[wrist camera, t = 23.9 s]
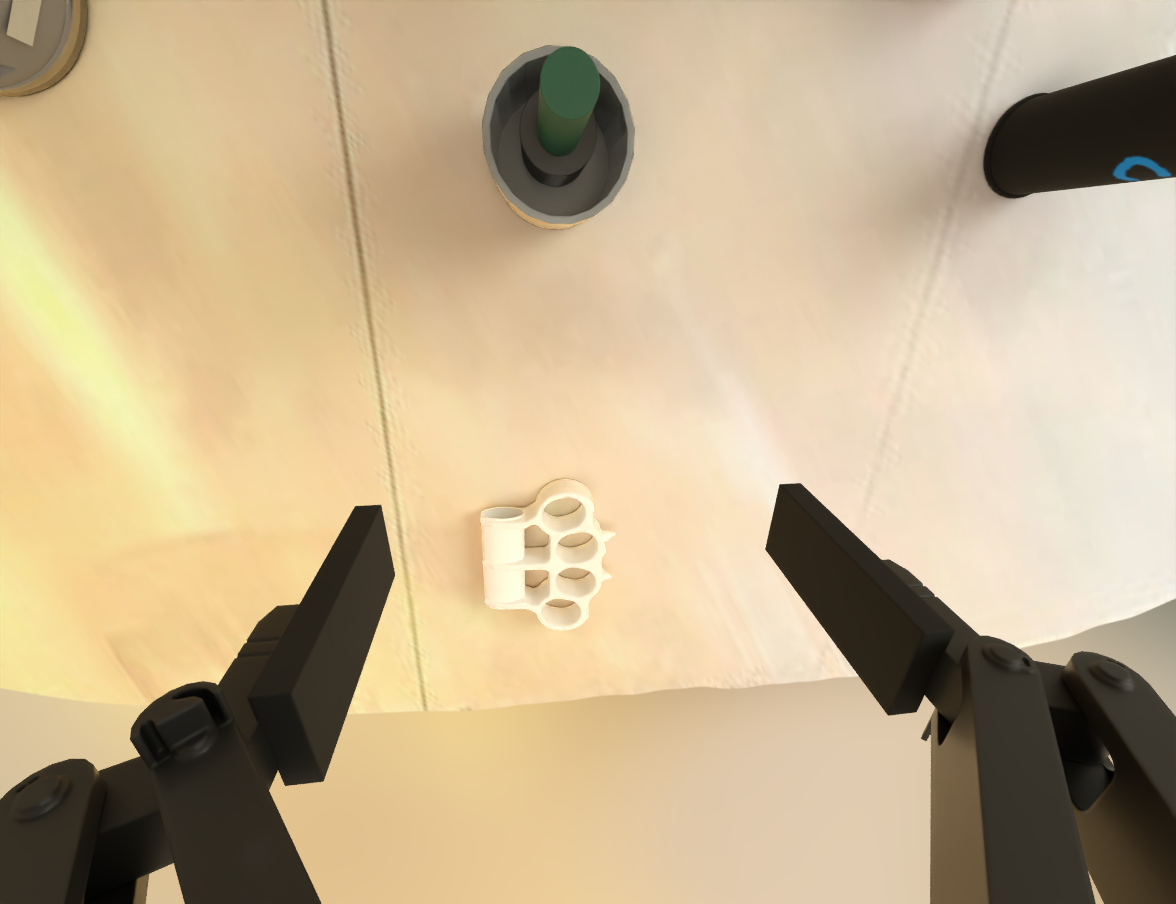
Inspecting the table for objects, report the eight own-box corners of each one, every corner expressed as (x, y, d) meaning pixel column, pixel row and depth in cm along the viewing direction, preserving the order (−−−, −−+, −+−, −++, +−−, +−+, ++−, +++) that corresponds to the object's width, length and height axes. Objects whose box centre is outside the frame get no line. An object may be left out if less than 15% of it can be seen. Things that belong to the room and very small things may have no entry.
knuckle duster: (480, 479, 51) (617, 477, 53) (487, 614, 58) (608, 609, 59) (477, 493, 48) (623, 491, 49) (484, 635, 55) (612, 629, 56)
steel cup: (470, 176, 40) (453, 156, 31) (537, 60, 38) (540, 3, 29) (567, 253, 43) (576, 254, 35) (635, 151, 41) (664, 124, 32)
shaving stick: (622, 148, 25) (625, 17, 23) (517, 145, 25) (512, 10, 23) (586, 187, 41) (587, 111, 39) (522, 186, 40) (519, 109, 38)
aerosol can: (986, 107, 42) (1333, -1, 24) (1076, 82, 43) (1490, -45, 24) (979, 208, 46) (1279, 181, 27) (1062, 185, 46) (1417, 142, 27)
